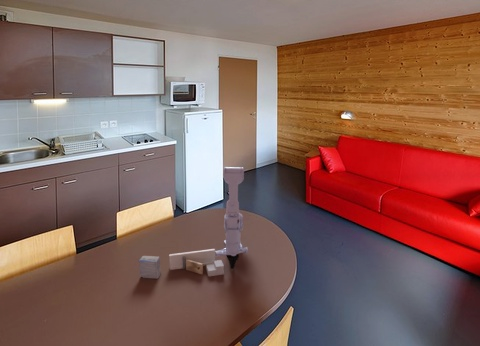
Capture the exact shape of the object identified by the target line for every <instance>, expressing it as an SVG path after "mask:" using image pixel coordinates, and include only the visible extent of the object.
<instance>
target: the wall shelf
mask: <svg viewBox="0 0 480 346" xmlns="http://www.w3.org/2000/svg"><path fill="white" fill-rule="evenodd" d="M168 256H169V269H170V271H174V270H181V269H183V270H186V260H187V259H188V260H192V261H195V262H199V263H202V264H203V266H206V265H209V264H214V261H216V248H210V249H202V250H194V251H186V252H178V253H170V254H168Z"/></svg>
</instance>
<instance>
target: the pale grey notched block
mask: <svg viewBox="0 0 480 346" xmlns="http://www.w3.org/2000/svg"><path fill="white" fill-rule="evenodd" d="M205 266H206V273H207V277H215V276H222V275H225V265H224V263H223V261H222V259H217V260H215V261H214V264H209V265H205Z"/></svg>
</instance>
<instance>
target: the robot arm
mask: <svg viewBox="0 0 480 346" xmlns="http://www.w3.org/2000/svg"><path fill="white" fill-rule="evenodd" d="M222 176H223V177H222V179H223V180H224V182H225V183H226V184H227V185H228V198H229V199H228V200H227V201H226V206H225V209H226V210H225V214H224V216H223V217H224V218H223V219H224V220H223V229H224V230H225V240H223V242H224V244H225V248H223V249H219V250H215V257H216V258H219V257H221V256H226V258H227V260H228V263H229V268H230V270H234V269H235V266H236V263H237V261H238V260H239V258H240V256H239V254H243V253H245V254H248V253H249V249H248V248H249V247H247V246H243V244H242V243H241V231H243V229H244V216H243V214H242V213H240V202H239V185H240V184H241V183H242V182H244V179H245V168H244V167H243V166H241V167H238V166H235V167H230V166H224V167H223V173H222Z"/></svg>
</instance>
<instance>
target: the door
mask: <svg viewBox="0 0 480 346" xmlns="http://www.w3.org/2000/svg"><path fill="white" fill-rule="evenodd" d="M203 267H204V265H203V264H202V263H199V262H195V261H192V260H188V259H187V260H186V269H185V270H186V271H188V272H193V273H196V274H199V275H203V274H204V268H203Z"/></svg>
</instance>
